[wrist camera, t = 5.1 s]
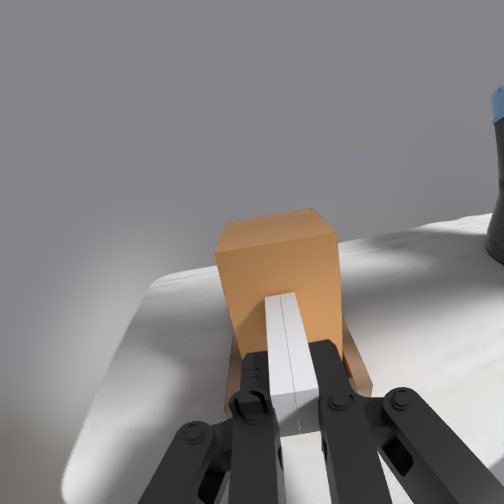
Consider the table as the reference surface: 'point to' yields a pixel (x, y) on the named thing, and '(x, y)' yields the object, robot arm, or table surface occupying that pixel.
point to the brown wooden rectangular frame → (353, 370)
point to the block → (281, 275)
